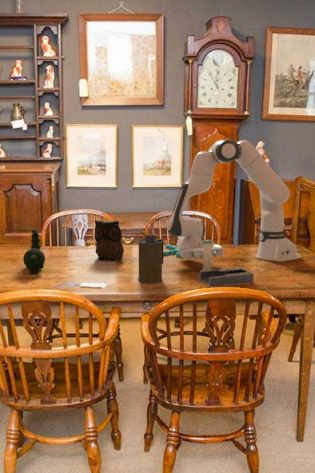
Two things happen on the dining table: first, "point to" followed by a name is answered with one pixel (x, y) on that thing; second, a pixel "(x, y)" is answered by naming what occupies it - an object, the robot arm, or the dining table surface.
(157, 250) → the canister
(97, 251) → the owl
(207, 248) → the flanged post
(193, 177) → the robot arm
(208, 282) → the keyhole track
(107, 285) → the dining table surface
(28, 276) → the dining table surface
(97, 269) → the dining table surface
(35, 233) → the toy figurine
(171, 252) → the alien figure
